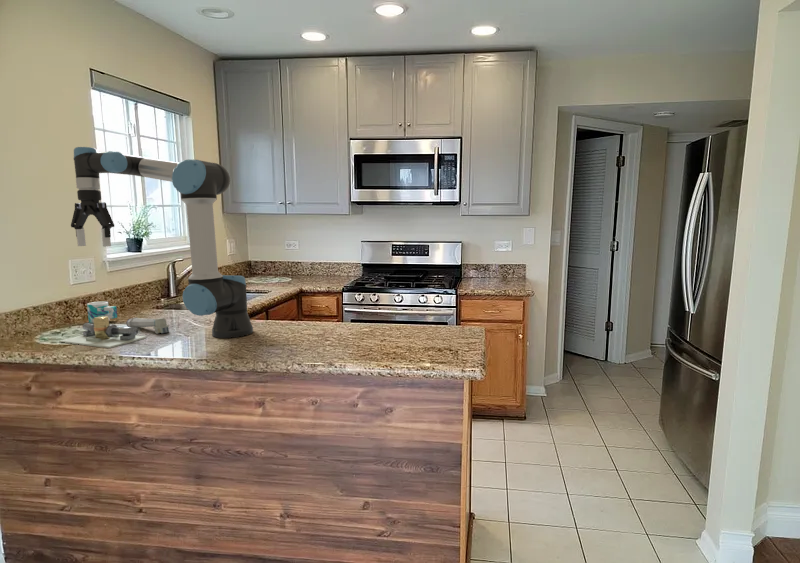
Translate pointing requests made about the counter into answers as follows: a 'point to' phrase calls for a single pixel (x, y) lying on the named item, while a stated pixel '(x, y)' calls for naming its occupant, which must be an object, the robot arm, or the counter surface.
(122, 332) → the shaft
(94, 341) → the board
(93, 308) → the mug
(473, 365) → the counter surface
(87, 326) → the shaft
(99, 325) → the gold upright block
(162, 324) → the grey hammer
